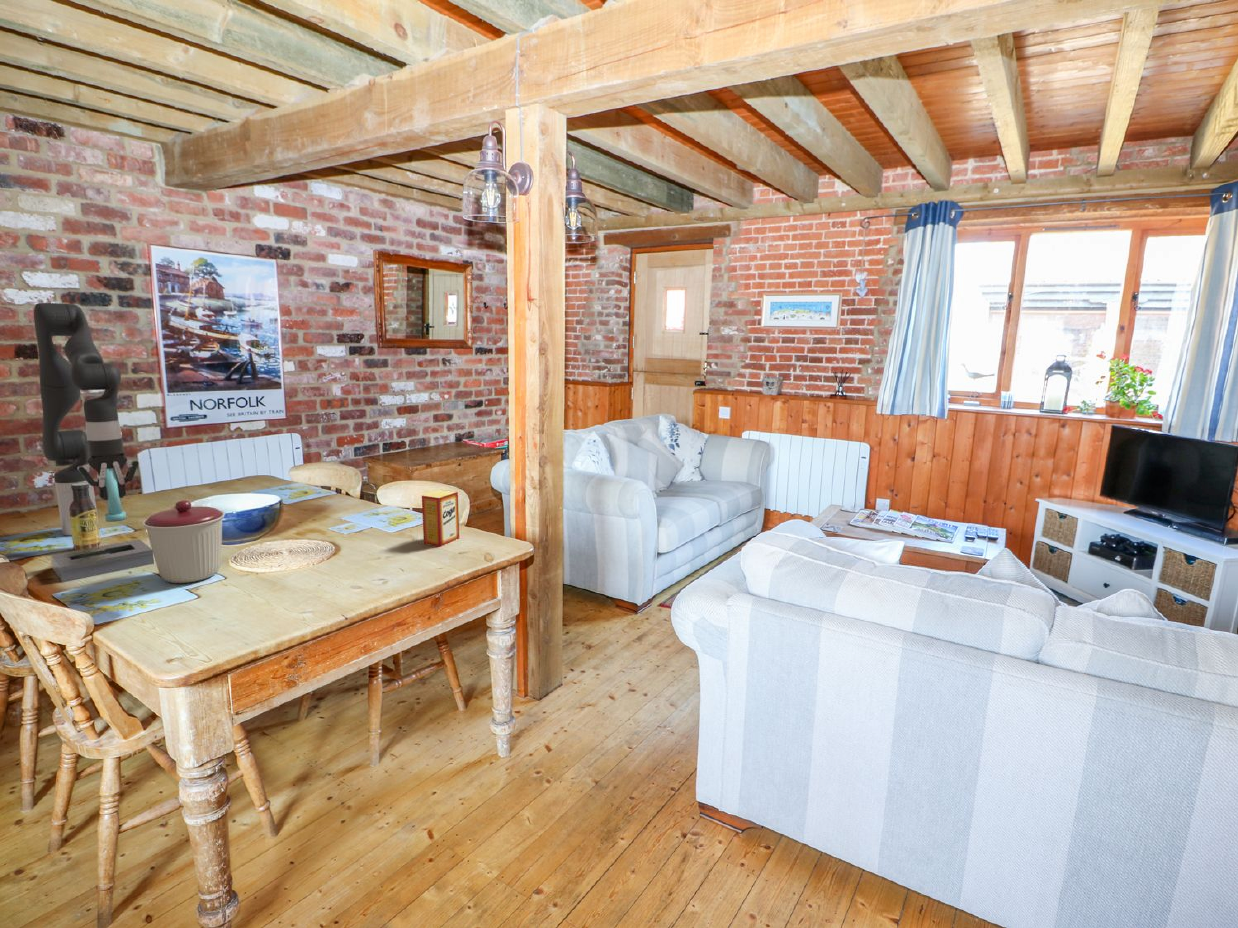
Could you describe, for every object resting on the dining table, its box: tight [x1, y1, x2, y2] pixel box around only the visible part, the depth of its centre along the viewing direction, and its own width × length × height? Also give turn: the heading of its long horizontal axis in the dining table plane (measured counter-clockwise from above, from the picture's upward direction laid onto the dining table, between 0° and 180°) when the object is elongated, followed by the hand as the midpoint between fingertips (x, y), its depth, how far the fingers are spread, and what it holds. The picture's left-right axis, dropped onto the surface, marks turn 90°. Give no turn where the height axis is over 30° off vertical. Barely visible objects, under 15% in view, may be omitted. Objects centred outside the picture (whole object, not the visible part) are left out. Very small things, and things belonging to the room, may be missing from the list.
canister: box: [141, 500, 226, 584], centre depth 171 cm, size 18×18×21 cm
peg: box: [104, 468, 128, 523], centre depth 179 cm, size 5×5×15 cm
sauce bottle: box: [69, 483, 101, 551], centre depth 192 cm, size 6×6×20 cm
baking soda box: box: [421, 489, 460, 548], centre depth 205 cm, size 10×6×16 cm
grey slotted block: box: [50, 538, 155, 583], centre depth 179 cm, size 14×20×4 cm
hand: (113, 498), depth 179 cm, fingers closed on peg, 3 cm apart
